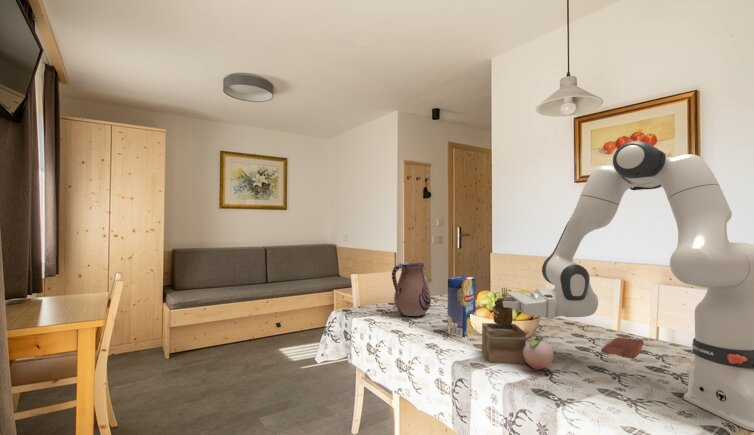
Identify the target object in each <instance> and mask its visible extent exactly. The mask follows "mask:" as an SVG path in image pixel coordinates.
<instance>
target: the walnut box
mask: <svg viewBox="0 0 754 435" xmlns="http://www.w3.org/2000/svg"><path fill="white" fill-rule="evenodd" d="M481 328H482V330H481V336H482V338H481V348H482V349H481V350H482V351H481V352H482V353H483V355H484V356H485V358H486V359H487V361H488V363H496V364H497V363H499V364H526V363H527V362H526V360H525V358H524V355H523V349H524V347H525V345H526V343H527V342H526V340H527V339H526V332H525V331H524V330H522V328H520V326H518V325H517V324H516V323H512V324H509V325H502V324H497V323H495V322H491V323H490V322H489V323H488V322H482V323H481Z"/></svg>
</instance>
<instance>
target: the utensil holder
mask: <svg viewBox="0 0 754 435" xmlns="http://www.w3.org/2000/svg"><path fill="white" fill-rule="evenodd" d="M507 292H508V287H501V288H500V289H499V296H498V297H499V298H500V297H503V300H497V299H496V300H494V307H493V323H497V324H502V325H509V324H513V308H505V307H503V306H502V302H503V301H507V300H504V299H505V297H506V296H507ZM508 302H510V301H508Z"/></svg>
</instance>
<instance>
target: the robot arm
mask: <svg viewBox="0 0 754 435" xmlns="http://www.w3.org/2000/svg"><path fill="white" fill-rule="evenodd" d="M612 156H613V157H612V165H610V164H609V165H599V166H598V167H596V168H594V169H593V171H592V172H591V173H590V175H589V176H588V179H587V180H586V182H585V184H584V185H583V186H584V187H583V188H582V191H581V193H580V196H579V199H578V201H577V203H576V206H575V208H574V211H573V212H572V214H571V215H570V218H569V220H568V222H566V224H565V227H564V228H563V231H562V233H561V235H560V237H559V239H558V242H557V244H556V246H555V248H554V250H552V253H551V254H550V255H549V256H548V257H547V258H546V259H545V261H544V262H543V264H542V267H541V274H542V276H543V278H544V280H545V281H546V282H548V283H549V284H552V285H553V286H554V288H552V289H550V288H546V289H545V288H544V289H543V288H538V289H535V291H534V292H531V293H529V292H525V291H524V292H523V291H522V292H521V291H520V292H519V291H507V296H506V297H505V299H504V300H507V301H503V302H502V306H503V307H505V308H512V310H513V309H514V310H517V311H519V312H521V313H522V314H523V315H526V316H531V317H539V318H541V317H542V318H546V319H549V320H554V319H555V318H556V317H557V318H558V317H565V318H585V317H589V316H592V315H594V314H595V313H596V311H598V307H599V298H598V296H597V294H596V293H595V292H594V290H593V288H592V286H591V281H590V280H591V279H590V274H589V272H588V269H586V267H584V266H582V265H580V264H578V263H576V262H574V257H575V254H576V252H577V251H578V248H579V246H580V244H581V242H582V240H583V238H585V236H587V235H588V234H589V233H591V232H594V231H596V230H599V229H602V228H605V227H606V226H608V225H609V224H610V223H611V222H612V220H613V219H614V217H615V216H616V214H617V212H618V209H619V206H620V204H621V202H622V198H623V196H624V194H625V193H626V192H627V190H629V189H630V190H632V191H642V190H643V191H644V190H655V189H660V188H662V189H663V190H664V194H665V196H666V198H667V201H668V203H669V206H670V208H671V211H672V214H673V217H674V220H675V223H676V226H677V236H678V237H677V246H676V248H675V249H674V251H673V253H672V254H671V255H670V258H669V267H670V270H671V271H670V272H671V273H672V274H673V276H674V277H675V278H676V279H677V280H679V281H680V282H682V283H684V284H685V285H691V286H695V287H700V288H707V290H706V293H705V295H704V297H703V298H702V300H700V302H699V303H698V304H697V305H696V306H695V308H694V338H693V339H692V345H691V346H692V353H693V354H694V358H693V360H692V362H691V364H690V367H689V373H688V385H687V392H685V393H683V394H684V395H683V400H684V401H687V402H689V403H691V404H693V405H695V406H697V407H699V408H702V409H703V410H705V411H707V412H709V413H712V414H714V415H716V416H718V417H719V418H722V419H723V420H726V421H728V422H731V423H732V424H734V425H735V426H739V427H740V428H743V429H745V430H748V431H752V432H754V244H753V243H749V242H730V241H729V237H728V229H727V225H728V223H729V221H730V220H731V219H732V215H733V214H732V210H731V208H730V206H729V203H728V201H727V199H726V197H725V194H724V191H723V190H722V188H721V185H720V183H719V181H718V179H717V178H716V176H715V174H714V173H713V171H712V169H711V168H710V166H709V165H708V163H707V162H706V161H705V160H704V159H703V158H702V157H701V156H699V155H697V154H691V153H685V154H680V155H677V156H674V157H668V156H667V155H666V153H665V152H664V151H662V150H660V149H659V148H657V147H655V146H654V145H652V144H651V143H648V142H645V141H639V140H635V141H629V142H625V143H624V144H622V145H621V146H619V147H618V148H617V149H616V151H615V152H614V154H613V155H612ZM499 297H500V298H499ZM496 300H503V297H502V296H497V297H496ZM508 301H510V302H508Z"/></svg>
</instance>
